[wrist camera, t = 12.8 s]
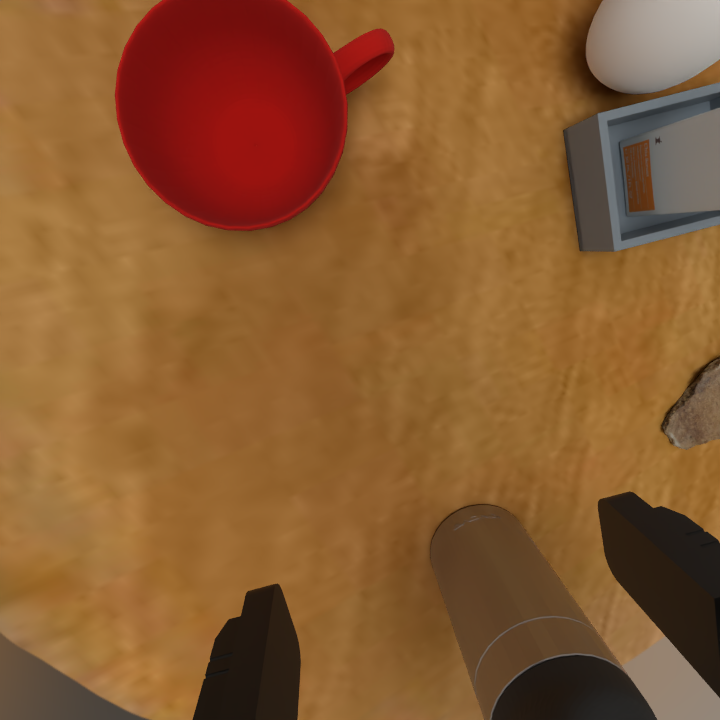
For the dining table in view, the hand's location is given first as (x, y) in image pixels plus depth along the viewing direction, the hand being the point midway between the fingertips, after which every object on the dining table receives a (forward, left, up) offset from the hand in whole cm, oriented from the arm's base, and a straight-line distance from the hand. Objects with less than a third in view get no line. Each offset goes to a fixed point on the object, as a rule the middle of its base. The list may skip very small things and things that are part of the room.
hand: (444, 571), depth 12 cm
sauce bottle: (+17, -24, -30) cm, 42 cm away
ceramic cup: (+17, +2, -30) cm, 35 cm away
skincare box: (+7, -25, -30) cm, 40 cm away
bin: (+8, -26, -30) cm, 40 cm away
